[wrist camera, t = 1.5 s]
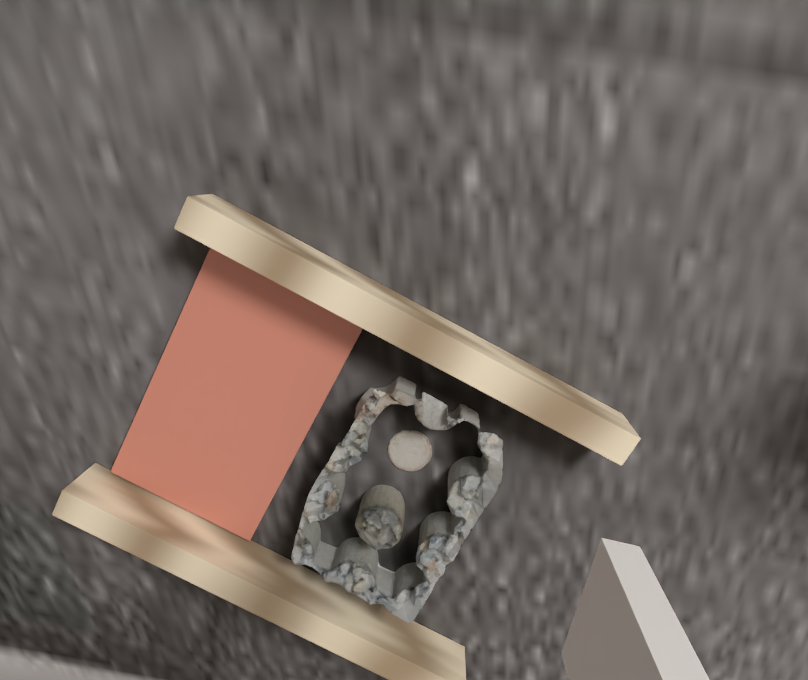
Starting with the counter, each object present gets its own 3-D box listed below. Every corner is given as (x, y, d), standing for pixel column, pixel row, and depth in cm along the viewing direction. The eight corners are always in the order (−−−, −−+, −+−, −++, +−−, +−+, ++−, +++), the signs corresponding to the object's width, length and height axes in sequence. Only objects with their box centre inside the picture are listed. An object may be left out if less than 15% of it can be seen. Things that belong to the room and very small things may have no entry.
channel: (85, 485, 34) (51, 514, 31) (212, 193, 30) (187, 196, 27) (451, 666, 35) (451, 710, 32) (622, 413, 31) (640, 438, 28)
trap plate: (114, 468, 33) (110, 471, 33) (217, 237, 30) (214, 237, 30) (251, 536, 34) (249, 541, 34) (368, 317, 31) (367, 319, 30)
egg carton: (380, 355, 31) (371, 380, 27) (514, 425, 32) (524, 460, 28) (288, 525, 34) (268, 571, 30) (413, 587, 34) (409, 640, 31)
